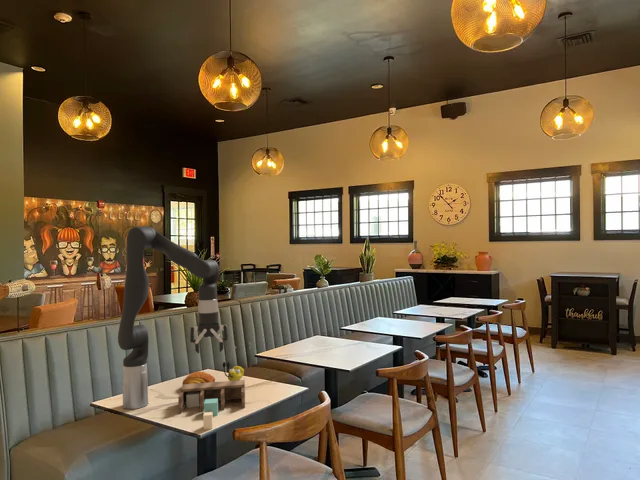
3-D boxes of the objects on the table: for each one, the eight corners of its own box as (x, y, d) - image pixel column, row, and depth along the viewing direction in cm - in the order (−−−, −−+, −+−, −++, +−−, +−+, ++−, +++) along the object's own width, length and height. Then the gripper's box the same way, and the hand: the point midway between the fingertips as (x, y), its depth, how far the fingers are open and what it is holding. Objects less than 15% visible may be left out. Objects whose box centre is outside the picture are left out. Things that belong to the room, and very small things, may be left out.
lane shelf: (178, 413, 185) (178, 394, 185) (183, 402, 198) (182, 384, 198) (244, 407, 188) (244, 389, 188) (245, 397, 202) (244, 379, 202)
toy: (248, 358, 218) (231, 362, 204) (247, 389, 216) (230, 395, 202) (236, 357, 220) (219, 361, 206) (235, 388, 218) (218, 394, 205)
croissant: (178, 397, 211) (176, 380, 210) (192, 382, 227) (190, 366, 225) (208, 396, 209) (206, 380, 208) (220, 381, 225) (218, 365, 223)
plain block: (186, 407, 191) (186, 395, 191) (188, 403, 196) (187, 391, 196) (199, 406, 192) (198, 394, 192) (200, 402, 197) (200, 390, 197)
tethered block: (200, 429, 168) (200, 415, 168) (205, 411, 186) (205, 399, 186) (215, 428, 168) (214, 414, 168) (218, 410, 186) (217, 398, 186)
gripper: (188, 313, 179) (189, 355, 179) (226, 311, 181) (227, 353, 181) (190, 310, 186) (192, 351, 186) (227, 308, 188) (228, 348, 188)
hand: (209, 352), depth 184 cm, fingers open, 8 cm apart
